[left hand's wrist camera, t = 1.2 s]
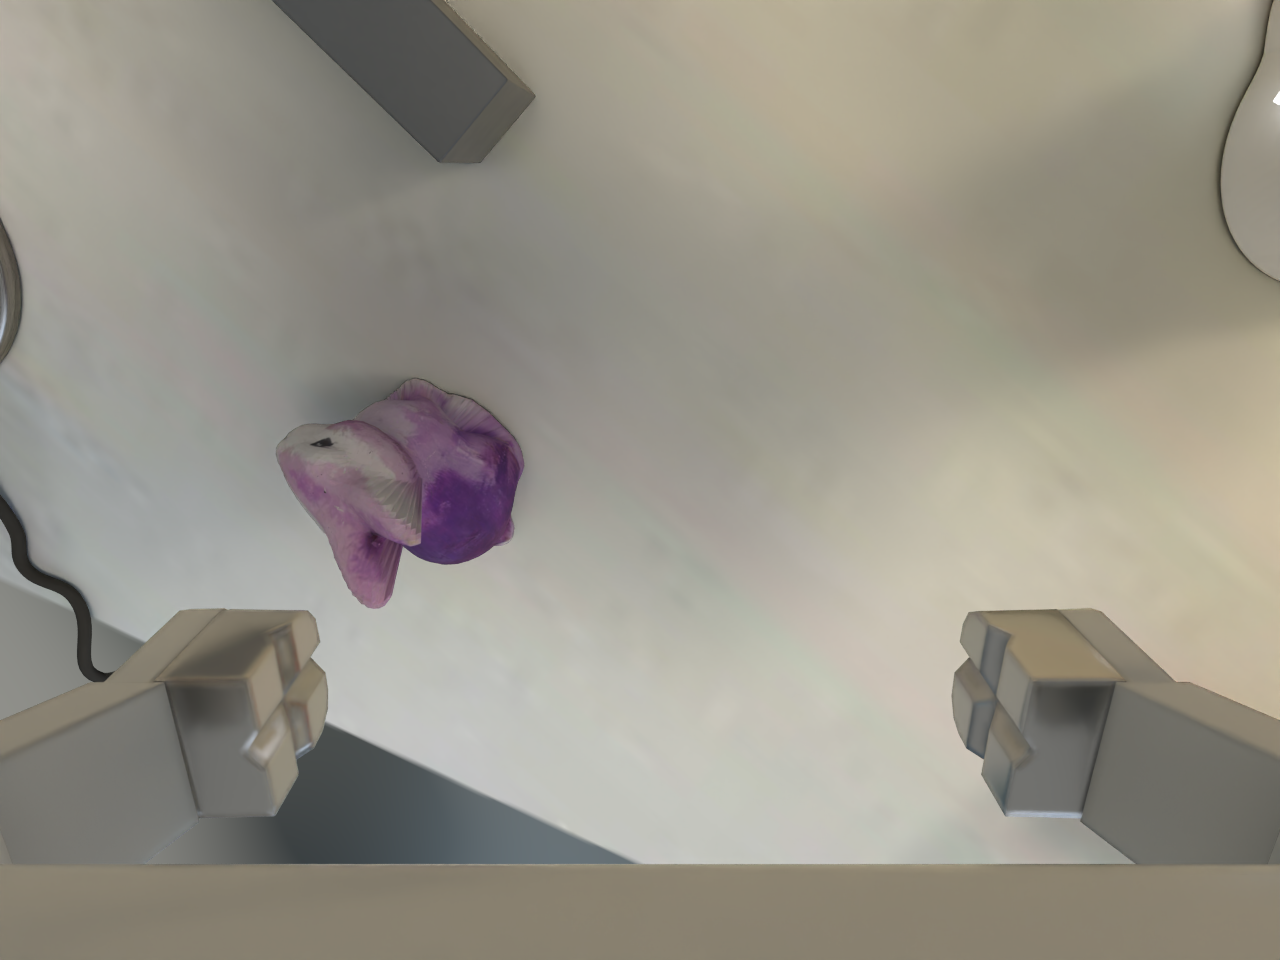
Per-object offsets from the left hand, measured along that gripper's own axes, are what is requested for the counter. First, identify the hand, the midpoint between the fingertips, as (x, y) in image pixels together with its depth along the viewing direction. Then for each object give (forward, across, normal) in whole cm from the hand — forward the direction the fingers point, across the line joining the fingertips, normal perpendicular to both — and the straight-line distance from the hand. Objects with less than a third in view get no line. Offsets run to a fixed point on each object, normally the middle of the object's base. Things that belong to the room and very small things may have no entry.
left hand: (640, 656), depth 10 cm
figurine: (+36, +12, +10) cm, 39 cm away
